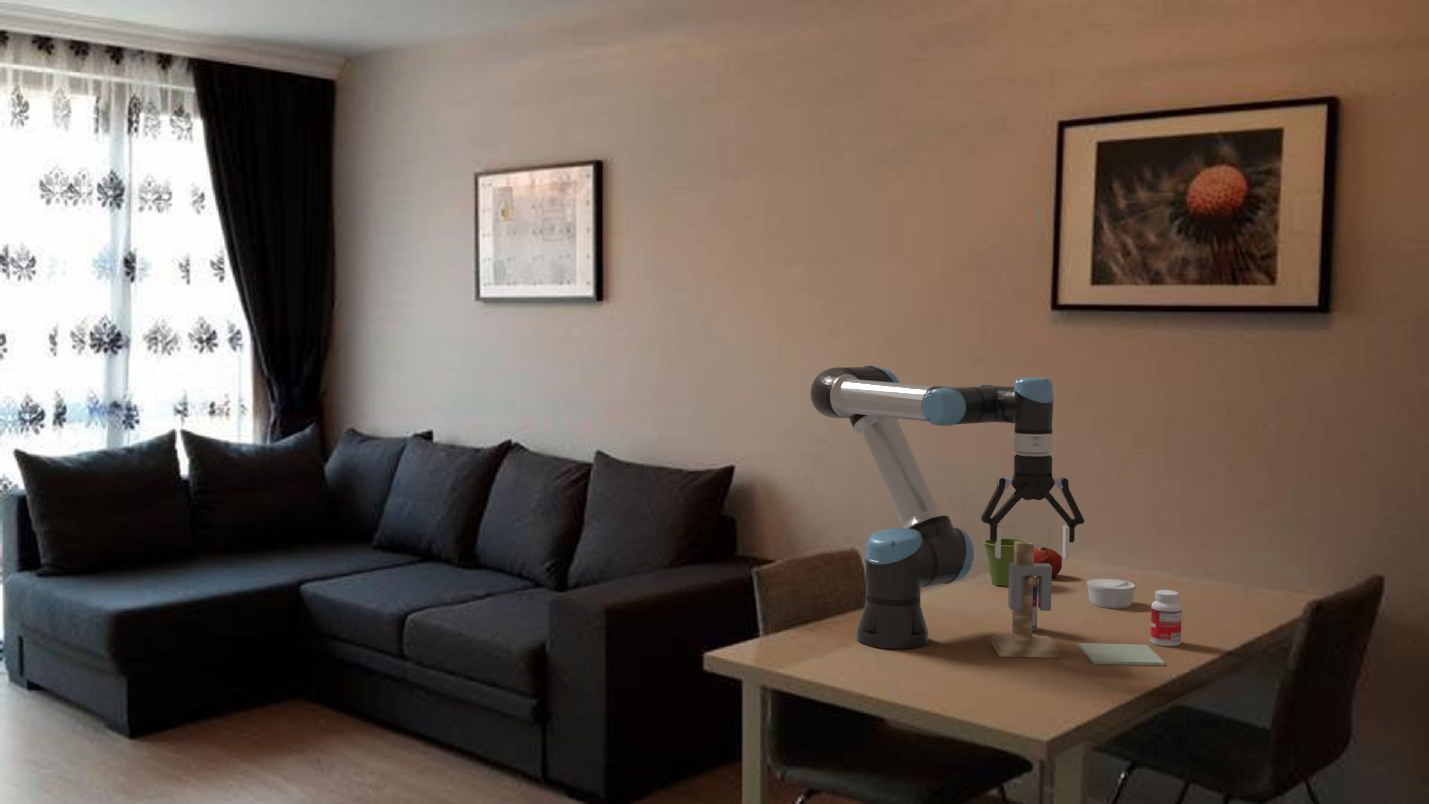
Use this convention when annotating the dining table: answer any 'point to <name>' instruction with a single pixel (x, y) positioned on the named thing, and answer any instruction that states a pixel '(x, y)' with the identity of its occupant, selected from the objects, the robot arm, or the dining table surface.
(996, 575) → the plant pot
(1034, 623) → the energy drink
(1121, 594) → the ramekin
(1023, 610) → the stand
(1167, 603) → the pill bottle
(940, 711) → the dining table surface
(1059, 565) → the tomato
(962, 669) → the dining table surface
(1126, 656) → the mat
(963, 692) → the dining table surface
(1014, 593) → the c link
